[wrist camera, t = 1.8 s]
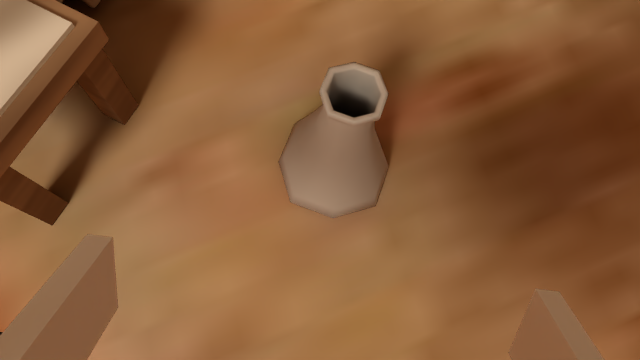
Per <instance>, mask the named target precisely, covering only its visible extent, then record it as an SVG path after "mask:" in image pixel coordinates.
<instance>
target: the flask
mask: <svg viewBox="0 0 640 360" xmlns="http://www.w3.org/2000/svg"><path fill="white" fill-rule="evenodd" d="M319 93H320V96H321V99H322V102H323V105H322V106H320V107H319V108H318V109H316V110H315V111H314V112H312V113H311V114H310V115H308V116H307V117H305V118H303V119H302V120H300V121H298V122H297V123H295V124H294V126H293V129H292V131H291V133H290V136H289V138H288V141H287V143H286V145H285V148H284V150H283V152H282V155H281V157H280V160H279V165H280V168H281V171H282V175H283V178H284V182H285V185H286V188H287V192H288V195H289V198H290V202H291V203H294V204H296V205H299V206H302V207H305V208H307V209H310V210H313V211H315V212H318V213H321V214H323V215H326V216H329V217H332V218H335V217H338V216H342V215H346V214H349V213H353V212H356V211H360V210H363V209H367V208H370V207H374V206H376V203H377V200H378V197H379V194H380V191H381V188H382V185H383V182H384V179H385V176H386V173H387V170H388V164H387V161H386V158H385V155H384V153H383V150H382V147H381V144H380V142H379V139H378V136H377V134H376V131H375V121H378V120H379V119H380V117H381V114H382V111H383V108H384V106H385V103H386V100H387V97H388V91H387V89H386V86H385V83H384V81H383V78H382V76H381V73H380V71H379V70H376V69H373V68H370V67H368V66H365V65H362V64H359V63H356V62H352V63H347V64H343V65H339V66H334V67H330V68H329V69H328V71H327V74H326V76H325V79H324V81H323V84H322V86H321V88H320V91H319Z"/></svg>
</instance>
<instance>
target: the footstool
mask: <svg viewBox="0 0 640 360" xmlns="http://www.w3.org/2000/svg"><path fill="white" fill-rule="evenodd" d="M108 40H109V39H108V37H107V35H106V34H105V32H104V30H103V29H102V27H101V25H100V23H99V22H98V21H96V20H94V19H92V18H90V17H88V16H86V15H84V14H82V13H80V12H78V11H76V10H74V9H72V8H70V7H68V6H66V5H64V4H62V3H60V2H58V1H56V0H0V201H2V202H4V203H6V204H8V205H10V206H12V207H15V208H17V209H19V210H21V211H23V212H25V213H27V214H29V215H31V216H34V217H36V218H38V219H40V220H42V221H44V222H46V223H48V224H50V225H53V224H54V222H55V221H56V219H57V218H58V217H59V215H60V214H61V212H62V211H63V210H64V208H65V207H66V205H67V204H68V202H66V201H65V200H63V199H61V198H60V197H58V196H56V195H55V194H53V193H52V192H50V191H48V190H47V189H45V188H43V187H42V186H40V185H39V184H37V183H35V182H34V181H32V180H30V179H29V178H27V177H25V176H24V175H22V174H21V173H19V172H17V171H16V170H14V169H12V168H11V167H9V166H10V165H11V164H12V162H13V161H14V160H15V158H16V157H17V156H18V155H19V153H20V152H21V151H22V150H23V148H24V147H25V146H26V145H27V143H28V142H29V141H30V139H31V138H32V137H33V136H34V134H35V133H36V132H37V131H38V129H39V128H40V127H41V125H42V124H43V123H44V122H45V120H46V119H47V118H48V117H49V115H50V114H51V113H52V112H53V110H54V109H55V108H56V106H57V105H58V104H59V103H60V101H61V100H62V99H63V98H64V96H65V95H66V94H67V92H68V91H69V90H70V89H71V87H72V86H73V85H74V84H75V82H76V81H77V82H78V83H79V85H80V86H81V87H82V88H83V89H84V91H85V92H86V93H87V94H88V96H89V97H90V98H91V99H92V100H93V102H94V103H95V104H96V105H97V107H98V108H99V109H100V110H101V111H102V113H103V114H104V115H106V116H108V117H110V118H112V119H114V120H116V121H118V122H120V123H122V124H124V125H125V124H126V122H127V121H128V119H129V118H130V117H131V115H132V114H133V112H134V111H135V110H136V108H137V107H138V104H137V103H136V101H135V99H134V98H133V96H132V95H131V93H130V92H129V90H128V88H127V87H126V85H125V84H124V82H123V81H122V79H121V77H120V76H119V74H118V73H117V71H116V70H115V68H114V66H113V65H112V63H111V62H110V60H109V59H108V57H107V55H106V54H105V52H104V51H103V49H102V48H103V47H104V46H105V44H106V43H107V42H108Z"/></svg>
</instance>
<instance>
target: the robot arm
mask: <svg viewBox="0 0 640 360" xmlns="http://www.w3.org/2000/svg"><path fill="white" fill-rule="evenodd" d="M117 308H118V300H117V287H116V273H115V260H114V246H113V237H107V236H99V235H91V234H87V235H86V236H85V237H84V238H83V240H82V241H81V242H80V243H79V244H78V245H77V247H76V248H75V249H74V250H73V251H72V252H71V254H70V255H69V256H68V257H67V258H66V259H65V261H64V262H63V263H62V264H61V265H60V266H59V268H58V269H57V270H56V271H55V272H54V273H53V275H52V276H51V277H50V278H49V279H48V280H47V282H46V283H45V284H44V285H43V286H42V287H41V289H40V290H39V291H38V292H37V293H36V294H35V296H34V297H33V298H32V299H31V300H30V301H29V303H28V304H27V305H26V306H25V307H24V308H23V310H22V311H21V312H20V313H19V314H18V315H17V317H16V318H15V319H14V320H13V321H12V322H11V324H10V325H9V326H8V327H7V328H6V329H5V331H4V332H0V360H87V359H88V357H89V355H90V354H91V352H92V350H93V349H94V347H95V345H96V343H97V342H98V340H99V338H100V337H101V335H102V333H103V332H104V330H105V328H106V327H107V325H108V323H109V322H110V320H111V318H112V317H113V315H114V313H115V312H116V310H117ZM509 355H510V357H511V360H604V358H603V357H602V355H601V354H600V352H599V351H598V349H597V348H596V346H595V345H594V343H593V342H592V340H591V339H590V337H589V336H588V334H587V333H586V331H585V330H584V328H583V327H582V325H581V324H580V322H579V321H578V319H577V318H576V316H575V315H574V313H573V312H572V310H571V309H570V307H569V306H568V304H567V303H566V301H565V300H564V298H563V297H562V295H561V294H560V292H559V291H550V290H542V289H535V291H534V293H533V296H532V298H531V300H530V303H529V305H528V308H527V310H526V312H525V315H524V317H523V320H522V322H521V324H520V327H519V329H518V331H517V334H516V336H515V339H514V341H513V343H512V346H511V348H510V351H509Z"/></svg>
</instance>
